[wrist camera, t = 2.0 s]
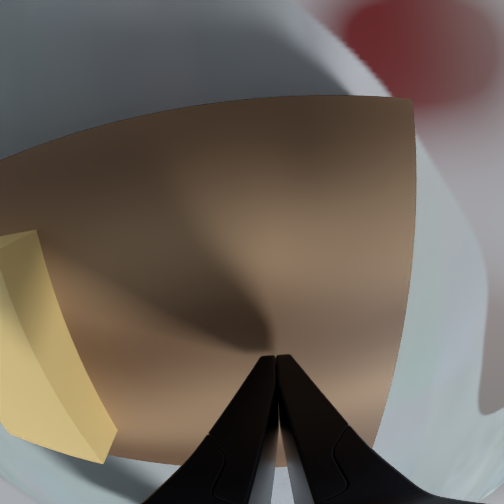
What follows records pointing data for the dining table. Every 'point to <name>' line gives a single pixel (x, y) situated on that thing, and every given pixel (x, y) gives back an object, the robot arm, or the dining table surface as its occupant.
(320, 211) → the brown wooden flat block
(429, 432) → the dining table surface
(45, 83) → the dining table surface
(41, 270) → the yellow rectangular block
